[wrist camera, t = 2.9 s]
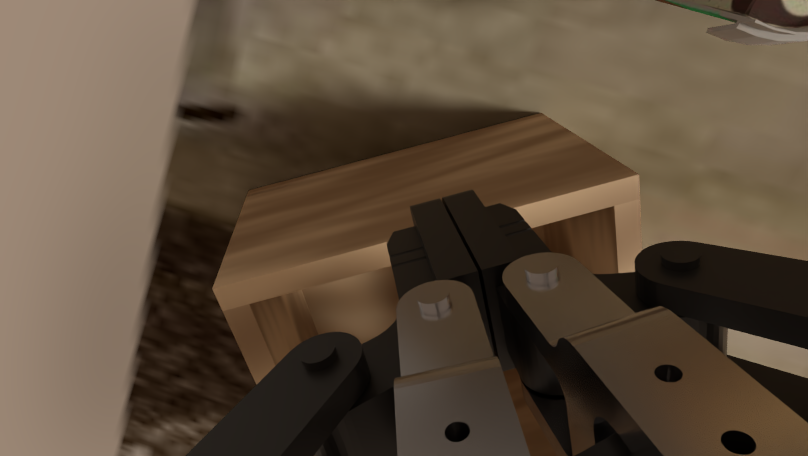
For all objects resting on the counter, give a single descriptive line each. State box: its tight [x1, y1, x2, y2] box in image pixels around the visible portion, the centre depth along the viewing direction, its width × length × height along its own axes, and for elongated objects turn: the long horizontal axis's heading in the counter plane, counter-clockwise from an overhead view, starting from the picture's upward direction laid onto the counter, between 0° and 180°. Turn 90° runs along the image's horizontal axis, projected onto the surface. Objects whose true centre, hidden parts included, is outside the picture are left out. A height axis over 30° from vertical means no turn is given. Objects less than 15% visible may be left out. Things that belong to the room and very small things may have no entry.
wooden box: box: [212, 113, 642, 456], centre depth 28 cm, size 16×16×10 cm
